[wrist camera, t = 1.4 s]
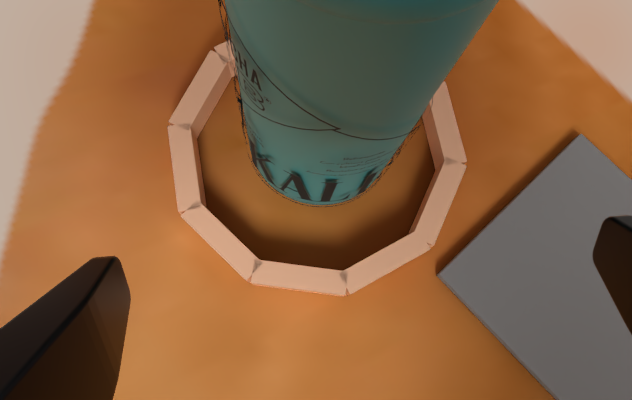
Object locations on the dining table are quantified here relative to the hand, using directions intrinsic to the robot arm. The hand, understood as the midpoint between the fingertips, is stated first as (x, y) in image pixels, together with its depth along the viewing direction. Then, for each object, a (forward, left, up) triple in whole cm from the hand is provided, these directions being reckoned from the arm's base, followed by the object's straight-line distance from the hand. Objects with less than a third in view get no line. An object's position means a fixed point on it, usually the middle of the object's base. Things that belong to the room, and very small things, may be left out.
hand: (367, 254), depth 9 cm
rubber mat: (0, -14, -13) cm, 19 cm away
